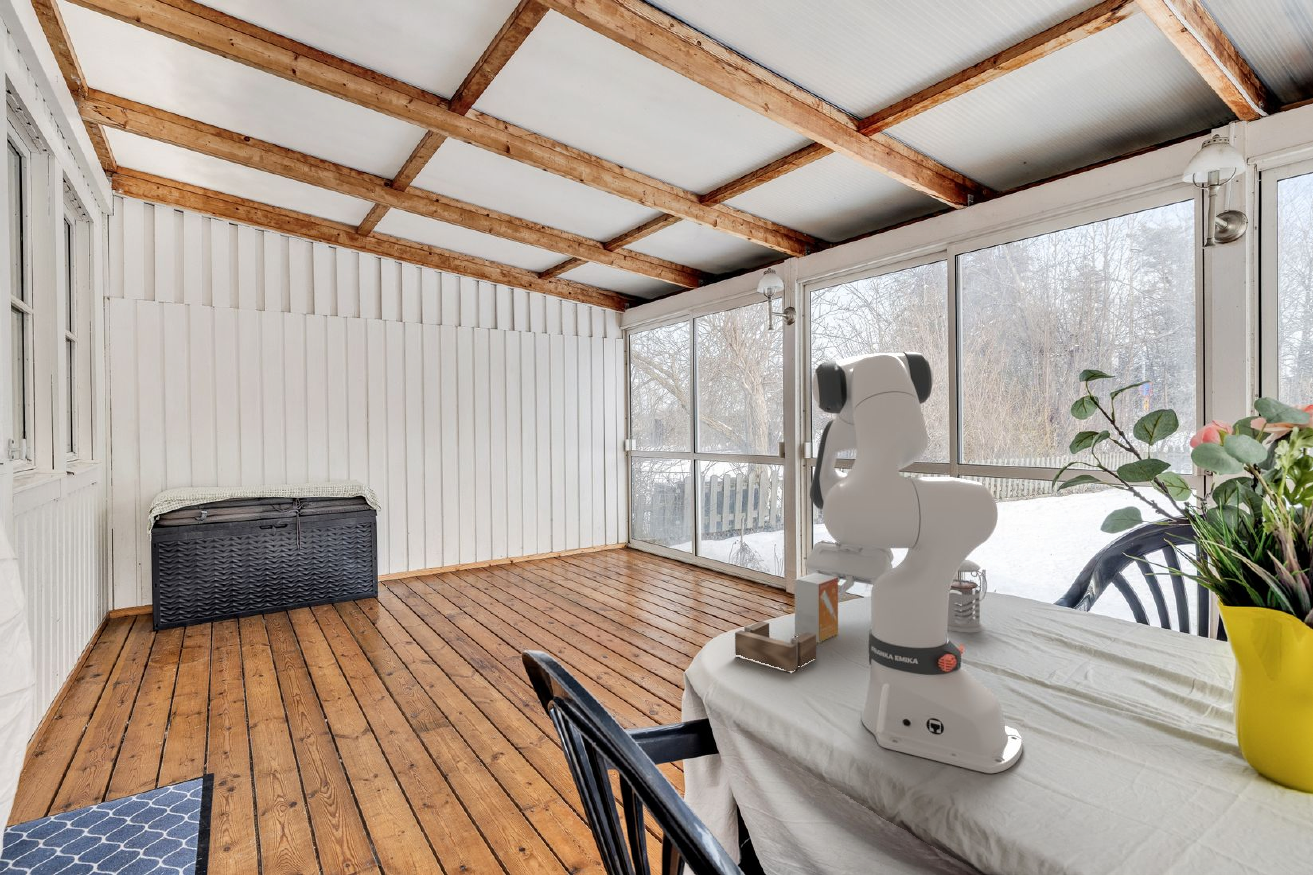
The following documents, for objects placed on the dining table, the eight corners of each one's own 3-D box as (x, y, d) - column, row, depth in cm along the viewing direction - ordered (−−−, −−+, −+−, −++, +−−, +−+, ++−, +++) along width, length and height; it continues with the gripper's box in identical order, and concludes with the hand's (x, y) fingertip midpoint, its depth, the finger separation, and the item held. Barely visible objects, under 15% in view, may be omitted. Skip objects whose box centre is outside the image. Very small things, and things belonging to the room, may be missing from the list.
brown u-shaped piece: (816, 658, 128) (815, 631, 128) (791, 673, 121) (790, 644, 121) (761, 644, 137) (761, 618, 137) (735, 656, 130) (734, 629, 130)
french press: (927, 621, 150) (927, 515, 149) (967, 615, 153) (967, 511, 152) (959, 634, 140) (958, 521, 139) (1001, 628, 144) (1001, 518, 143)
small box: (819, 644, 136) (818, 583, 136) (794, 637, 141) (793, 578, 140) (839, 634, 142) (838, 576, 141) (814, 628, 146) (813, 571, 146)
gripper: (812, 532, 160) (792, 578, 153) (892, 542, 146) (874, 593, 139) (821, 546, 164) (802, 593, 157) (900, 558, 150) (883, 609, 143)
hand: (837, 593), depth 148 cm, fingers closed
